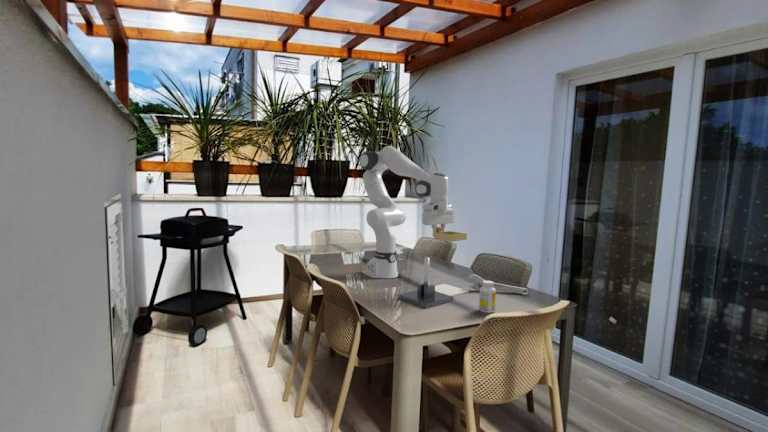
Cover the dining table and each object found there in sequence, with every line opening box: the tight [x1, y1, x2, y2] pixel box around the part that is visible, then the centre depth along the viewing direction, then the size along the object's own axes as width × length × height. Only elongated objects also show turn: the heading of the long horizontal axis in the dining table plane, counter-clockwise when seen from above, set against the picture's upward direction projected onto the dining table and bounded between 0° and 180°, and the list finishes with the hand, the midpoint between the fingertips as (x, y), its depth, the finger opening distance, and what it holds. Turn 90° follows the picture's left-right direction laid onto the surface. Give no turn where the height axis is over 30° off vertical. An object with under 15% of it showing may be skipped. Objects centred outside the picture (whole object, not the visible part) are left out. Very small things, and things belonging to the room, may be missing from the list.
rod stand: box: [398, 256, 455, 309], centre depth 194 cm, size 18×18×20 cm
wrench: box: [467, 273, 529, 295], centre depth 210 cm, size 8×2×30 cm
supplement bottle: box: [478, 280, 497, 314], centre depth 180 cm, size 7×7×13 cm
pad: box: [434, 283, 469, 297], centre depth 209 cm, size 16×16×1 cm
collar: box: [432, 226, 468, 242], centre depth 207 cm, size 16×11×5 cm
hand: (438, 233), depth 211 cm, fingers closed on collar, 3 cm apart
